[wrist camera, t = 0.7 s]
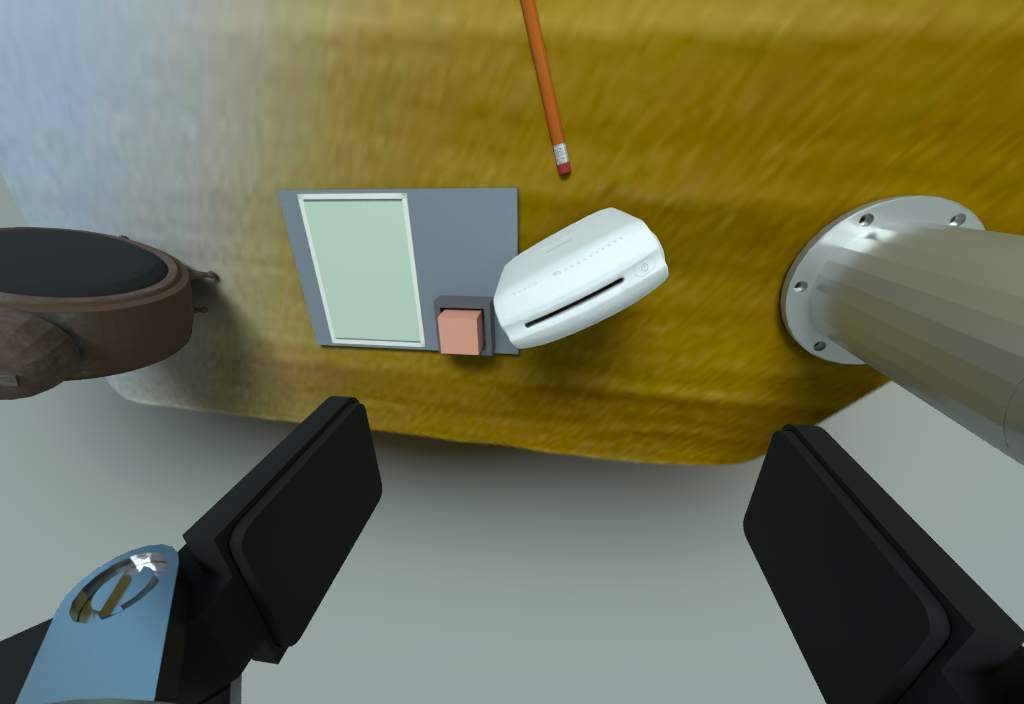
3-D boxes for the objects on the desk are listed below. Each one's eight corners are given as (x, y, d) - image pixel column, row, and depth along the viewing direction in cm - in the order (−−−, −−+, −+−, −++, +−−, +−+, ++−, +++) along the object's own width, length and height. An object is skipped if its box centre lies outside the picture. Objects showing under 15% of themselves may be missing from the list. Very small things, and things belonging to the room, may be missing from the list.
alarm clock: (242, 263, 35) (-94, 359, 17) (240, 329, 38) (-45, 467, 21) (91, 203, 35) (-416, 237, 17) (102, 275, 38) (-314, 368, 20)
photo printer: (615, 196, 28) (663, 213, 17) (636, 248, 30) (693, 293, 19) (497, 261, 31) (473, 312, 20) (522, 305, 33) (513, 375, 22)
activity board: (517, 187, 29) (513, 188, 27) (519, 351, 35) (515, 362, 33) (281, 190, 32) (260, 191, 30) (320, 342, 38) (305, 352, 36)
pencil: (559, 175, 29) (559, 175, 28) (481, -174, 22) (478, -187, 21) (570, 171, 29) (571, 171, 28) (495, -181, 21) (493, -195, 21)
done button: (482, 309, 32) (476, 318, 30) (483, 344, 33) (478, 355, 31) (445, 308, 32) (437, 317, 30) (448, 342, 34) (441, 353, 32)
